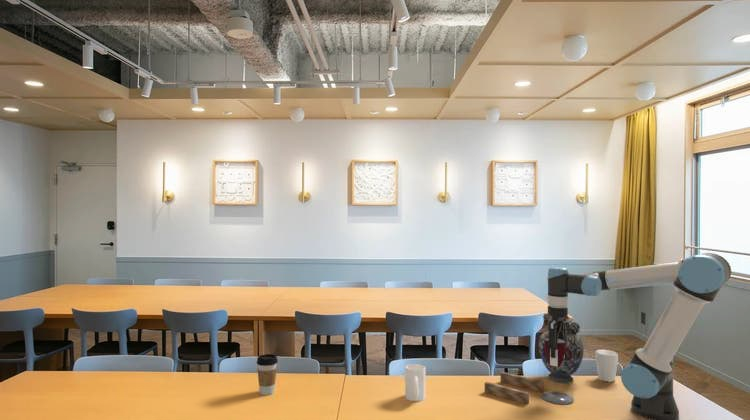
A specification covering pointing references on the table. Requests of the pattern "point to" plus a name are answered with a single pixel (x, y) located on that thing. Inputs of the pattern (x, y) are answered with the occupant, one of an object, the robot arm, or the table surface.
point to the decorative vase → (573, 344)
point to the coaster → (557, 397)
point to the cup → (606, 364)
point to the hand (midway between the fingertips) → (557, 362)
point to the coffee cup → (267, 373)
